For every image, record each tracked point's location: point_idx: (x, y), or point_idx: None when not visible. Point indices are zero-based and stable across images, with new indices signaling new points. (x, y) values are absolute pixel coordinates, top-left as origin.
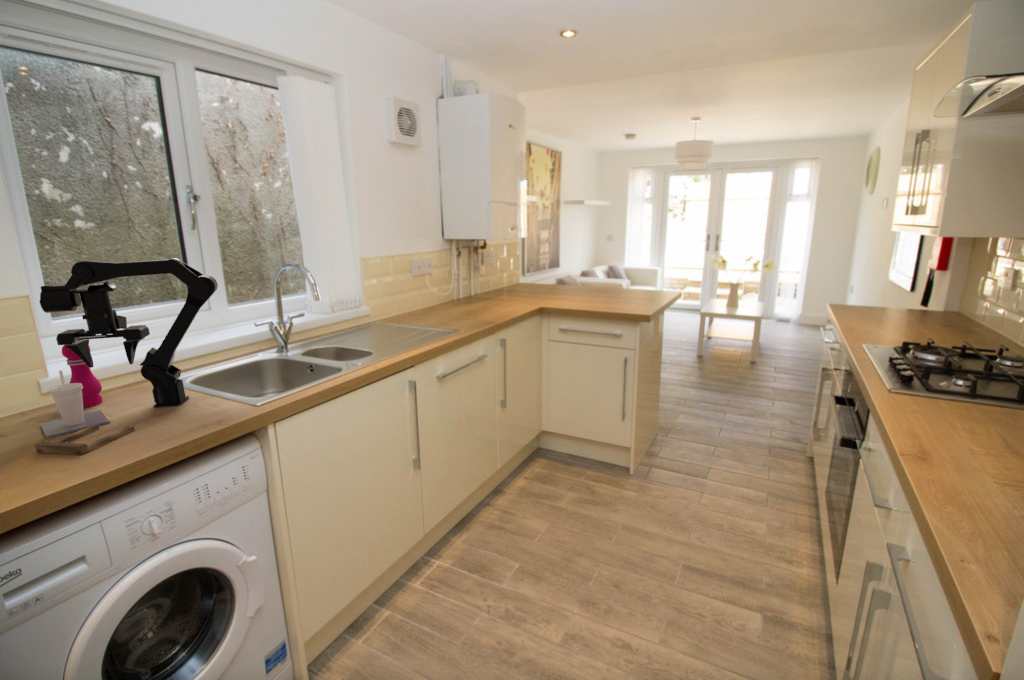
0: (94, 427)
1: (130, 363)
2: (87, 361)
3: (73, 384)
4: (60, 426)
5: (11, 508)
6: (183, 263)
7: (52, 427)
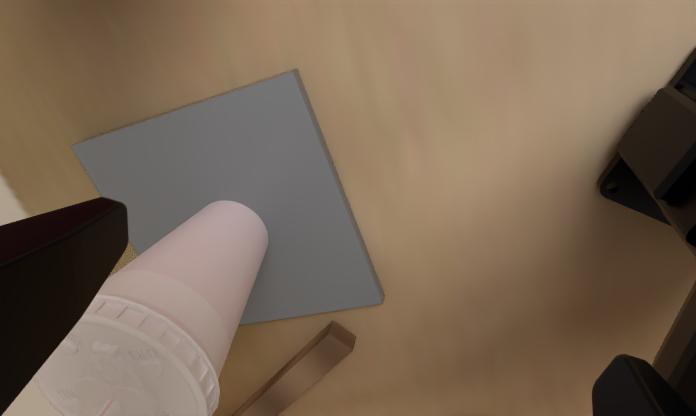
0: (341, 357)
1: (604, 412)
2: (52, 348)
3: (133, 350)
4: None
5: None
6: None
7: (158, 238)
